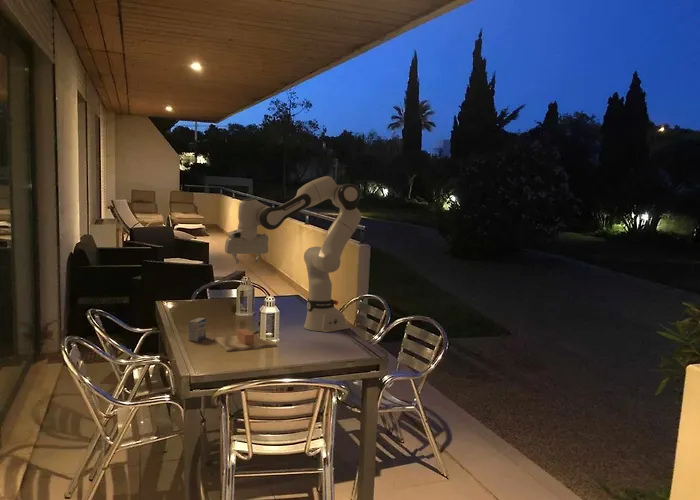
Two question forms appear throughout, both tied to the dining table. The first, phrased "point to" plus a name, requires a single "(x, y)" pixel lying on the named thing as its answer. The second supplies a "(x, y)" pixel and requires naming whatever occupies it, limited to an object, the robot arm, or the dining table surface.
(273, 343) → the birch board
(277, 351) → the dining table surface
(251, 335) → the terracotta block
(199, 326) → the medicine box
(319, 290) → the robot arm
